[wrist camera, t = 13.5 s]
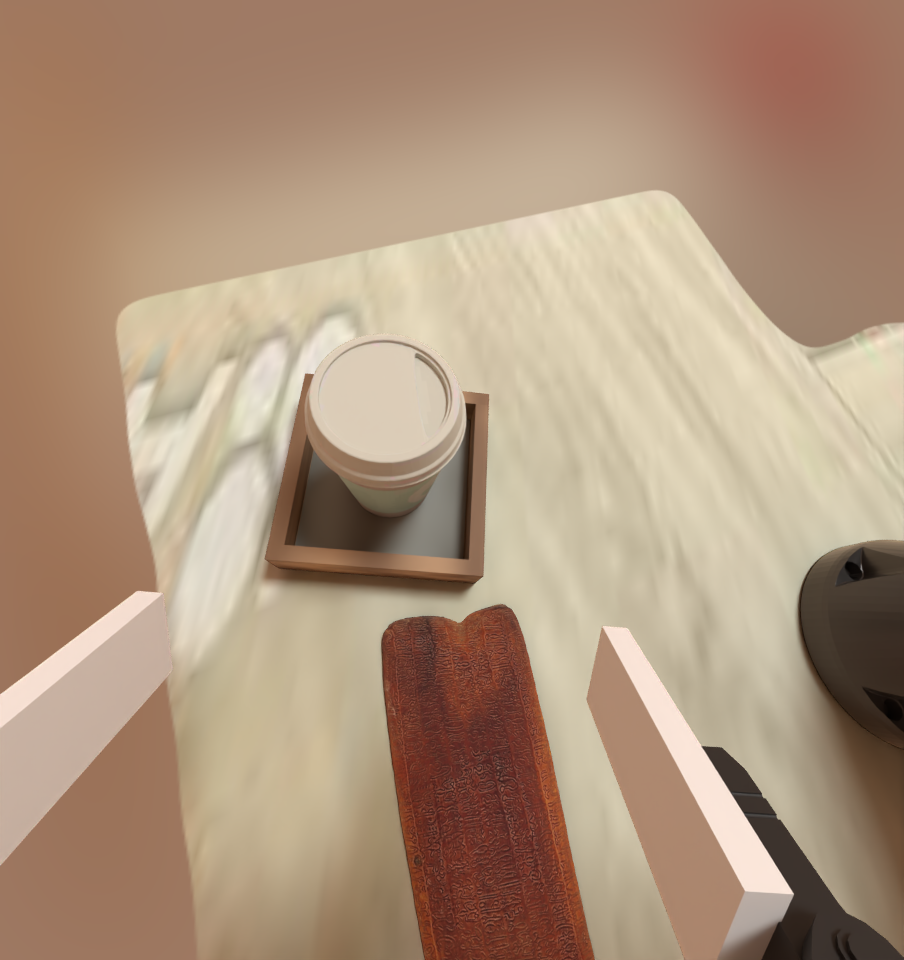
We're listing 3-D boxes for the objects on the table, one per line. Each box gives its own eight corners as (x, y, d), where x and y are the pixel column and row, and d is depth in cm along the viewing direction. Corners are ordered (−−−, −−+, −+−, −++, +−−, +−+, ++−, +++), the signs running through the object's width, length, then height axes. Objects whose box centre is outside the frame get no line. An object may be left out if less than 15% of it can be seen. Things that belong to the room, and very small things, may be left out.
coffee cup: (418, 555, 31) (428, 503, 19) (311, 505, 31) (260, 427, 20) (464, 457, 34) (496, 364, 23) (367, 413, 34) (350, 301, 23)
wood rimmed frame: (481, 416, 37) (489, 394, 33) (474, 583, 31) (483, 576, 28) (314, 398, 35) (305, 373, 32) (279, 568, 30) (264, 559, 27)
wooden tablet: (376, 625, 30) (374, 624, 29) (511, 599, 32) (516, 597, 30) (444, 1180, 21) (447, 1222, 20) (626, 1103, 23) (643, 1136, 21)
